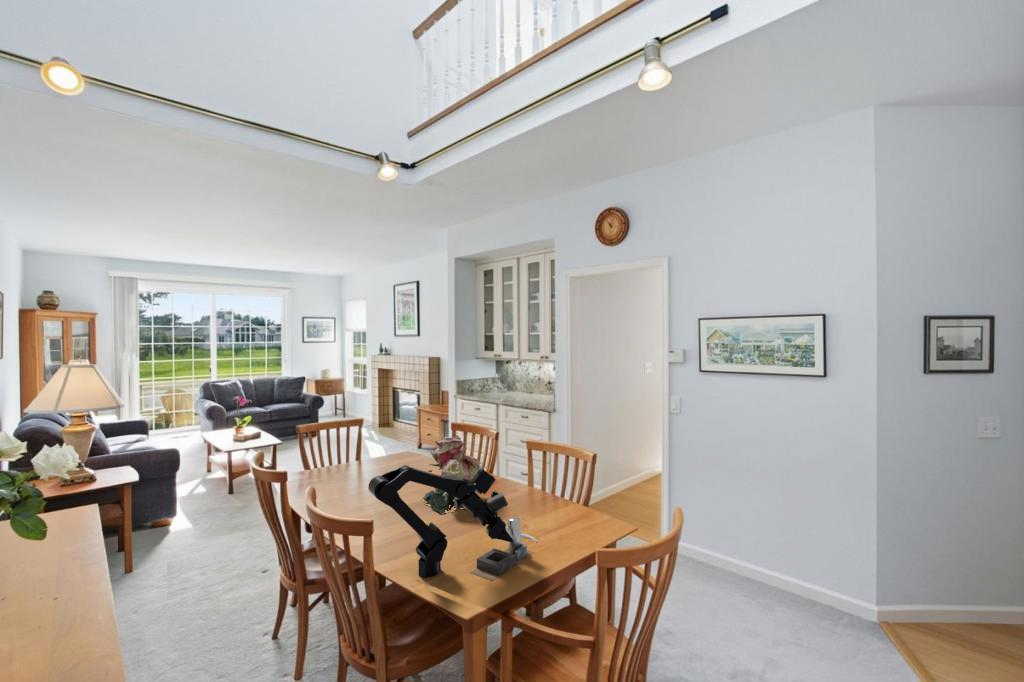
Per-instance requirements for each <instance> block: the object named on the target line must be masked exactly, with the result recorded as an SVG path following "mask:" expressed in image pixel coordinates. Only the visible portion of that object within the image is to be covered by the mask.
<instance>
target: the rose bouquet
mask: <svg viewBox="0 0 1024 682" xmlns="http://www.w3.org/2000/svg"><path fill="white" fill-rule="evenodd" d="M461 439H462V437H460V436H459V435H458V434H457V435H455V436H452V437H446V438H443V439H441V440H438V441H435V444H436V445H437V446H438V447H436V448H433V449H429V452H430V454H431V456H432V458H433V459H434V461H435V462H436V463H430V464H428V465H429V466H433V467H439V468H438V470H441V474H440V475H439V476H457V477H459V478H460V479H468V480H470V481H471V480H472V479H473V478H474V476H475V475H476V474H477V472H478V470H479V469H480V468H482V466H481V464H482V462H481V461H480V460H479V459H477V458H474V457H473V456H472V455H469V454H466V455H464V454H465V453H466V450H465V449H463V446H464V445H465V443H466V442H465V441H463V440H461ZM427 472H429V473H433V470H431V469H430V470H429V469H428V471H427ZM474 492H475V493H477V492H476V491H474ZM422 498H423V499H424V500H425V501H427V503H426V502H425V503H426V504H430V505H431V507H430V508H431V509H432V510H433V511H435V512H438V513H439V514H441V515H445V514H444V513H445V510H447V511H449V510H448V509H449V505H453V504H454V502H453V500H454V499H457V498H456V497H454V496H452V495H450V494H448V493H446V492H445V491H443V490H441V489H437V488H434V490H430V491H429V492H425V495H424V496H423V497H422ZM453 506H454V505H453ZM454 508H456V507H454ZM460 508H464V506H463V505H461V506H460ZM457 509H458V510H460V509H459V508H456V510H453V511H454V512H453V513H455V512H456V511H458V510H457Z"/></svg>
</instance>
